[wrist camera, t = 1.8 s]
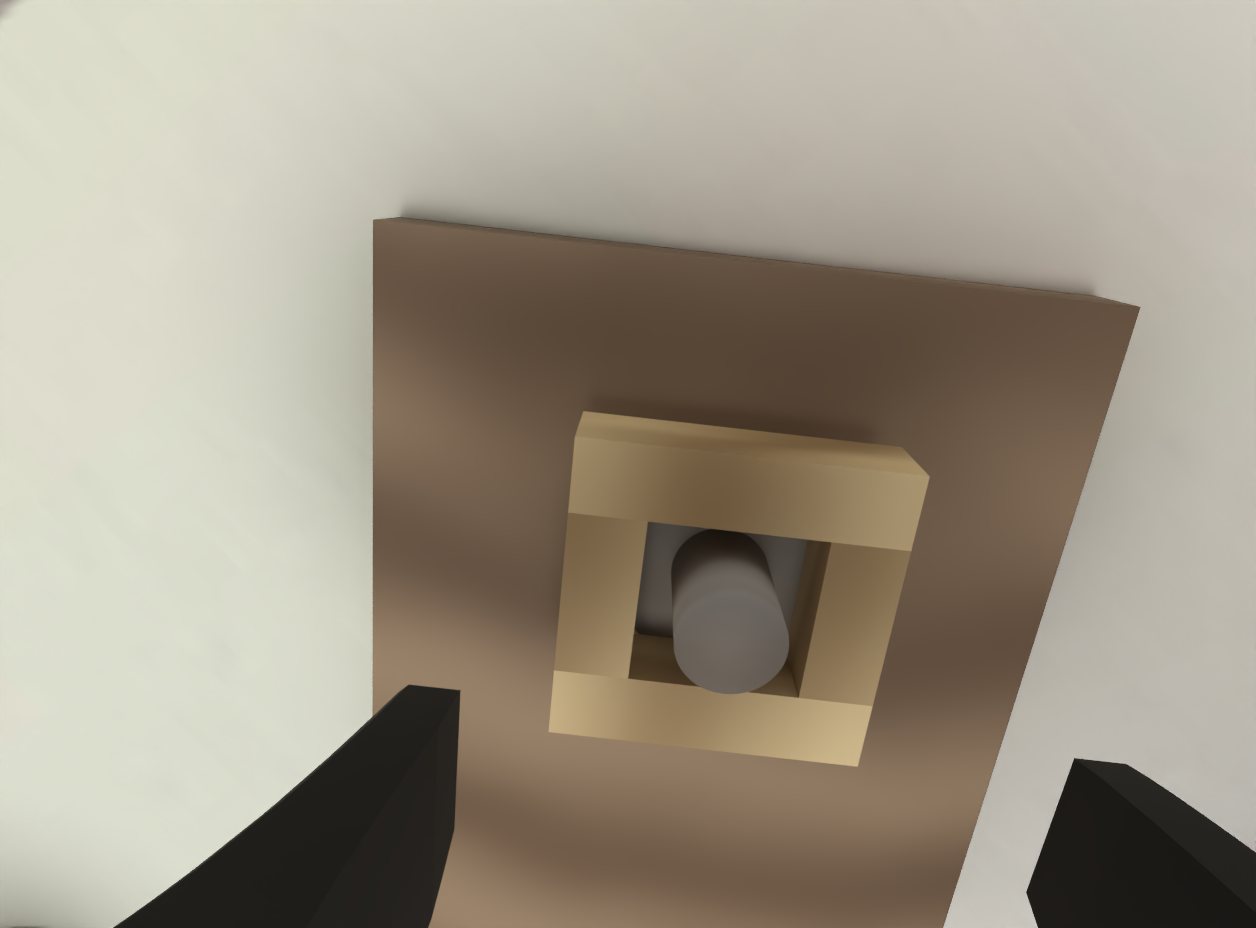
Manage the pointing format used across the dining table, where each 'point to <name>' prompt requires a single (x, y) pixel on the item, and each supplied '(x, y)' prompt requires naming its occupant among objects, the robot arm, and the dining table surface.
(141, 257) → the dining table surface
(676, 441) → the square wooden ring
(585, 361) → the board
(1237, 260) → the dining table surface
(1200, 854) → the robot arm
